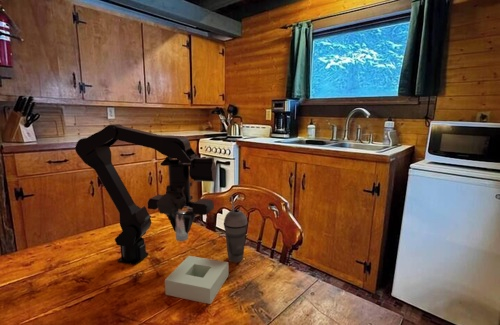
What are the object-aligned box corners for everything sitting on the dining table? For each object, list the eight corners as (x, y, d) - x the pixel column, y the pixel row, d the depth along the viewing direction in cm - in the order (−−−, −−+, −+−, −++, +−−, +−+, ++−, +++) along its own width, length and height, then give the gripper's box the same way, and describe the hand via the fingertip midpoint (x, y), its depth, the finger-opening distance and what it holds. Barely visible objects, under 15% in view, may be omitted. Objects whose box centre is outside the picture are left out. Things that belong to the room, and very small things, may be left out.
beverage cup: (244, 266, 80) (244, 200, 77) (220, 263, 82) (219, 199, 78) (249, 254, 87) (250, 193, 84) (227, 251, 89) (227, 192, 85)
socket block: (165, 294, 68) (164, 279, 67) (189, 268, 79) (188, 255, 78) (210, 304, 64) (210, 288, 64) (228, 275, 76) (228, 262, 75)
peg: (173, 240, 80) (172, 214, 79) (179, 235, 84) (178, 210, 82) (184, 241, 80) (183, 215, 78) (190, 236, 83) (189, 211, 81)
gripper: (132, 185, 73) (136, 239, 76) (196, 190, 68) (198, 249, 71) (157, 176, 84) (160, 224, 87) (214, 180, 79) (215, 231, 82)
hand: (181, 231), depth 81 cm, fingers closed on peg, 3 cm apart
